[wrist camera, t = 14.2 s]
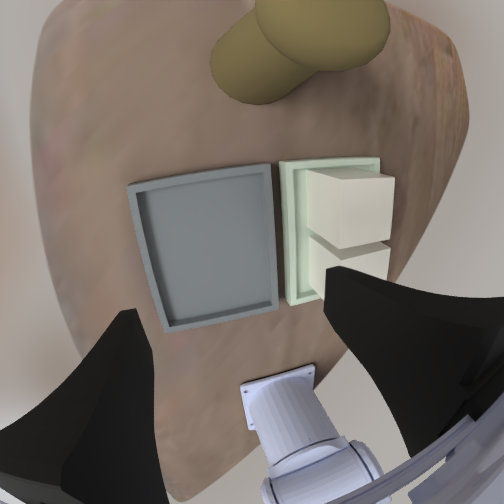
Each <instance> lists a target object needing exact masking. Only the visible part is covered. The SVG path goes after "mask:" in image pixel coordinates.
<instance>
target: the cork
mask: <svg viewBox="0 0 504 504" xmlns="http://www.w3.org/2000/svg"><path fill="white" fill-rule="evenodd" d="M389 34H390V16H389V13H388V10H387V7H386V4H385V2H384V1H383V0H255V8H254V9H253V10H251V11H250V12H249V13H248V14H247V15H246V16H244V17H243V18H242V19H241V20H240V21H239V22H238V23H236V24H235V25H234V26H233V27H232V28H231V29H230V30H229V31H228V32H227V33H226V34H224V35H223V36H222V37H221V38H220V39H219V40H218V42H217V44H216V45H215V47H214V48H213V50H212V54H211V59H210V66H211V72H212V76H213V78H214V79H215V81H216V83H217V85H218V86H219V88H220V89H222V90H223V91H224V92H225V93H226V94H227V95H228V96H229V97H231V98H234V99H236V100H238V101H240V102H242V103H247V104H253V105H261V104H269V103H272V102H274V101H276V100H279V99H281V98H283V97H284V96H285V95H286V94H288V93H289V92H290V91H292V90H293V89H294V88H296V87H297V86H298V85H300V84H301V83H302V82H304V81H305V80H307V79H308V78H309V77H311V76H312V75H313V74H315V73H316V72H318V71H319V70H323V71H345V70H349V69H352V68H355V67H358V66H362V65H365V64H367V63H368V62H370V61H371V60H372V59H374V58H375V57H376V56H377V55H378V54H379V53H380V52H381V51H382V50H383V48H384V46H385V44H386V41H387V39H388V36H389Z"/></svg>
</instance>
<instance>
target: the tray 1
mask: <svg viewBox="0 0 504 504" xmlns="http://www.w3.org/2000/svg"><path fill="white" fill-rule="evenodd" d="M126 188H127V193H128V198H129V203H130V208H131V213H132V218H133V223H134V227H135V232H136V236H137V240H138V244H139V248H140V252H141V256H142V260H143V264H144V268H145V272H146V275H147V279H148V282H149V286H150V289H151V293H152V296H153V299H154V303H155V306H156V309H157V312H158V315H159V318H160V321H161V324H162V327H163V330H164V333H170V332H176V331H181V330H186V329H192V328H197V327H202V326H207V325H212V324H216V323H221V322H226V321H230V320H235V319H239V318H244V317H248V316H252V315H257V314H261V313H265V312H269V311H273V310H277V309H279V300H278V278H277V259H276V241H275V224H274V208H273V193H272V178H271V165H270V164H269V163H265V162H263V163H253V164H245V165H236V166H229V167H221V168H214V169H207V170H201V171H194V172H188V173H182V174H176V175H171V176H165V177H160V178H155V179H150V180H145V181H140V182H135V183H131V184H129V185H128V186H127V187H126Z"/></svg>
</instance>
